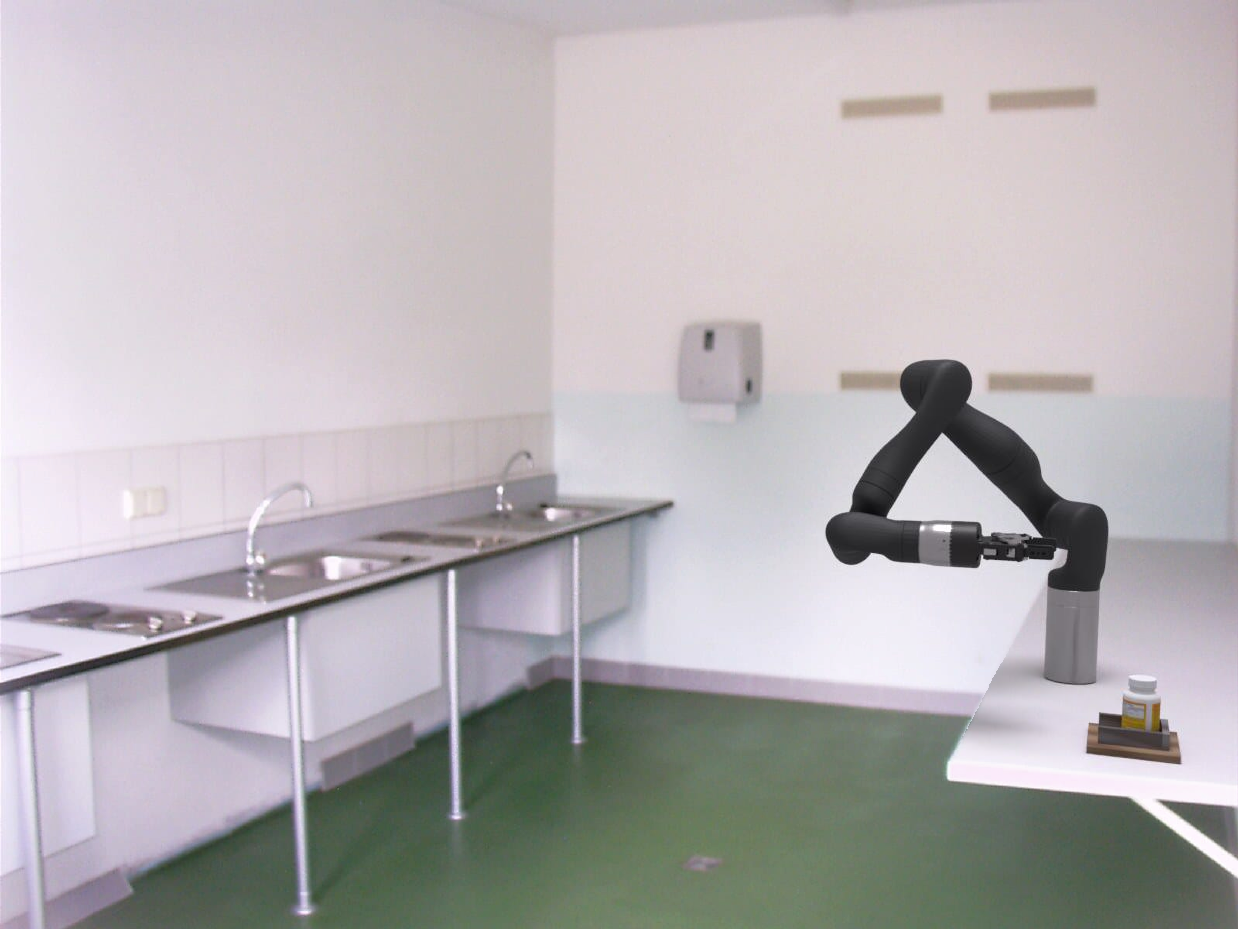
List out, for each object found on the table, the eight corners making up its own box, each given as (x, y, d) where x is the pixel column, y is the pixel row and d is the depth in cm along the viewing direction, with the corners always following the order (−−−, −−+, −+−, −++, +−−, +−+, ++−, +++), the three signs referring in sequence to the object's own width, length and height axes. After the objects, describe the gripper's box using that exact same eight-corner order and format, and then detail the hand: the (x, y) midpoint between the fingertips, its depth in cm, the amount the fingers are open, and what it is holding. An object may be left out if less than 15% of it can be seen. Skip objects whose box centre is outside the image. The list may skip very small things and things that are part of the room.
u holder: (1088, 728, 203) (1089, 707, 203) (1176, 738, 198) (1177, 716, 198) (1086, 753, 190) (1087, 730, 190) (1180, 764, 186) (1181, 740, 185)
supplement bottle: (1149, 734, 197) (1152, 673, 196) (1165, 745, 191) (1168, 682, 190) (1115, 734, 197) (1117, 673, 196) (1129, 745, 191) (1132, 682, 190)
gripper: (945, 526, 198) (1054, 531, 192) (955, 515, 212) (1058, 520, 206) (944, 573, 199) (1052, 580, 193) (954, 560, 212) (1056, 565, 206)
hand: (1055, 549), depth 199 cm, fingers open, 8 cm apart
